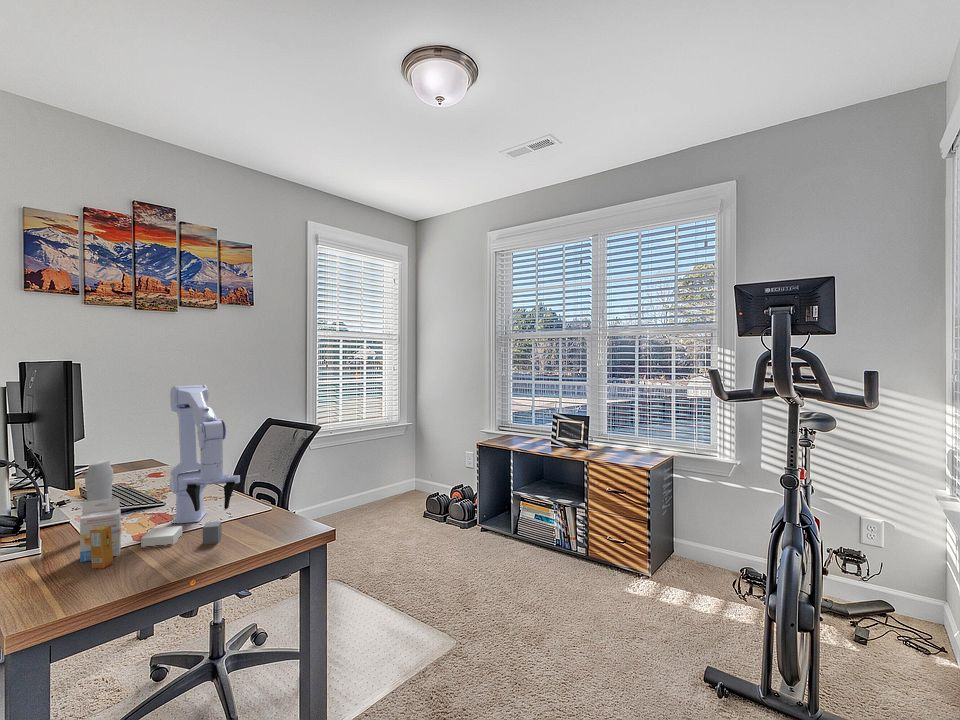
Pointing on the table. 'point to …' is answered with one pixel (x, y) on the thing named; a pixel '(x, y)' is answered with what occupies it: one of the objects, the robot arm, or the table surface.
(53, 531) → the table surface
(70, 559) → the table surface
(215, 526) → the charcoal block
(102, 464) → the tall pale column
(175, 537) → the base block
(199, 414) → the robot arm
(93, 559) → the supplement box
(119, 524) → the ink box
